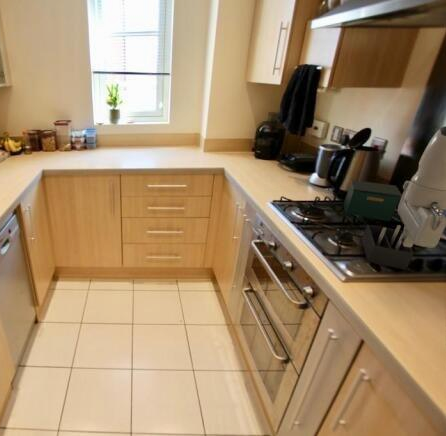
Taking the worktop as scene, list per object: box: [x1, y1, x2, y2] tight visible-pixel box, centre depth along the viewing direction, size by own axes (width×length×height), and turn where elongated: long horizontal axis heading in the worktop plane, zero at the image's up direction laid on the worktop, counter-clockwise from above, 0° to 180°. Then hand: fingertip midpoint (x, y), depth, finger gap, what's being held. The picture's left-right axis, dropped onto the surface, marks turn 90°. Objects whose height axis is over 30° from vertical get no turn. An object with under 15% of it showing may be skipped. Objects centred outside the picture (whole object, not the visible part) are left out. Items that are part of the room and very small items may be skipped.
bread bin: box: [343, 179, 402, 222], centre depth 121 cm, size 14×11×11 cm
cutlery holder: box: [361, 224, 415, 271], centre depth 95 cm, size 9×14×10 cm, turn 152°
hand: (405, 244), depth 82 cm, fingers closed
